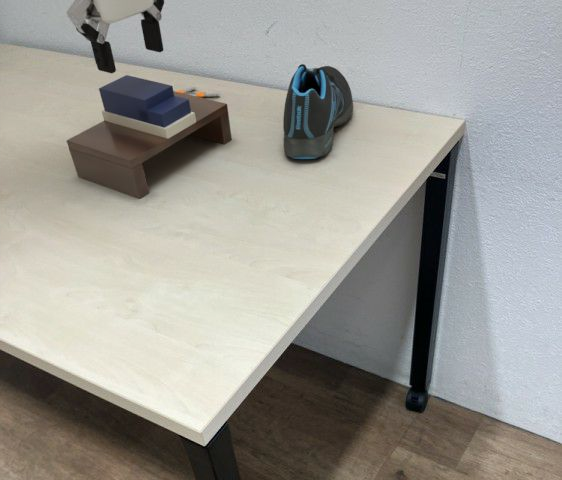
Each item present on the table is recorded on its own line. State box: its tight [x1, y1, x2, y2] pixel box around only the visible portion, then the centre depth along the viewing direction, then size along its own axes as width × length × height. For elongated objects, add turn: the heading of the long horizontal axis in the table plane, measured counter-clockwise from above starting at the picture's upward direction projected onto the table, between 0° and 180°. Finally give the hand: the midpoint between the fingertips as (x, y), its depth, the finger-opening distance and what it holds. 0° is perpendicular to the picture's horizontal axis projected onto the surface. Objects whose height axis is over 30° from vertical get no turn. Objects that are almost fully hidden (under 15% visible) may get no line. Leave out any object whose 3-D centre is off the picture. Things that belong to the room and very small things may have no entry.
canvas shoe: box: [98, 74, 196, 139], centre depth 94 cm, size 14×6×5 cm, turn 54°
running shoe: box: [282, 63, 354, 160], centre depth 100 cm, size 10×26×11 cm, turn 170°
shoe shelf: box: [66, 90, 232, 200], centre depth 98 cm, size 22×14×6 cm, turn 144°
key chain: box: [175, 86, 221, 98], centre depth 116 cm, size 13×7×1 cm, turn 118°
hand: (131, 60), depth 89 cm, fingers open, 9 cm apart
